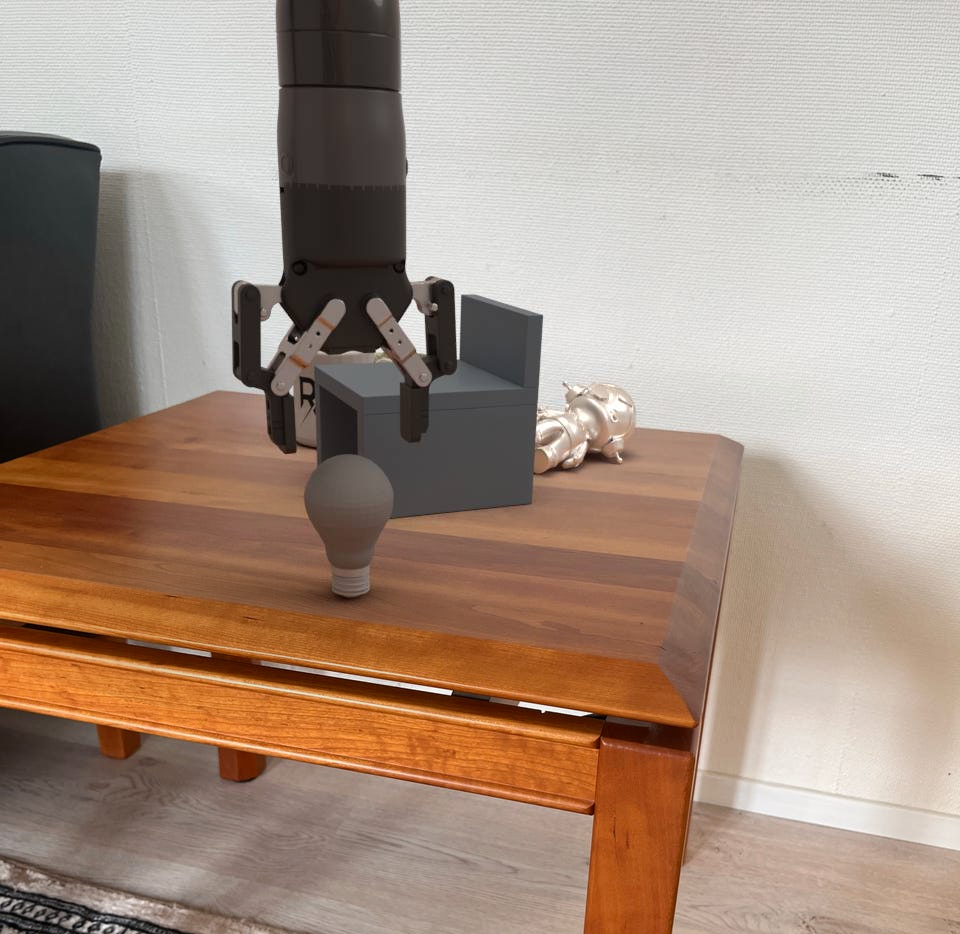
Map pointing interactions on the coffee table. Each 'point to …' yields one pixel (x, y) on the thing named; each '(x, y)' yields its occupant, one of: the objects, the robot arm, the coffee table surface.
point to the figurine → (584, 426)
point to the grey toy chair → (446, 417)
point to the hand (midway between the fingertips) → (350, 445)
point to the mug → (306, 391)
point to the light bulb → (349, 516)
